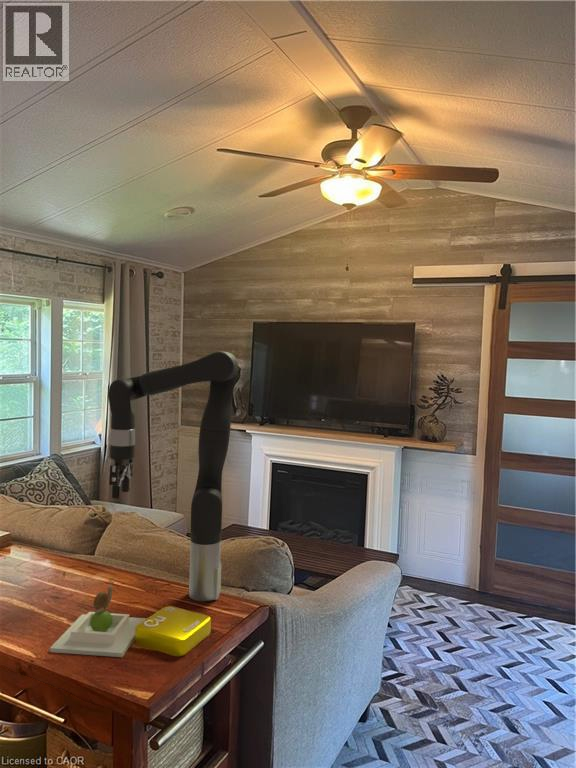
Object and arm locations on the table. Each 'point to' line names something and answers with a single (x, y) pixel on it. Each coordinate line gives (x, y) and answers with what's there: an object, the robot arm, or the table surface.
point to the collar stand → (98, 637)
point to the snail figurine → (102, 611)
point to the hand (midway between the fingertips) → (120, 494)
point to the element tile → (173, 630)
